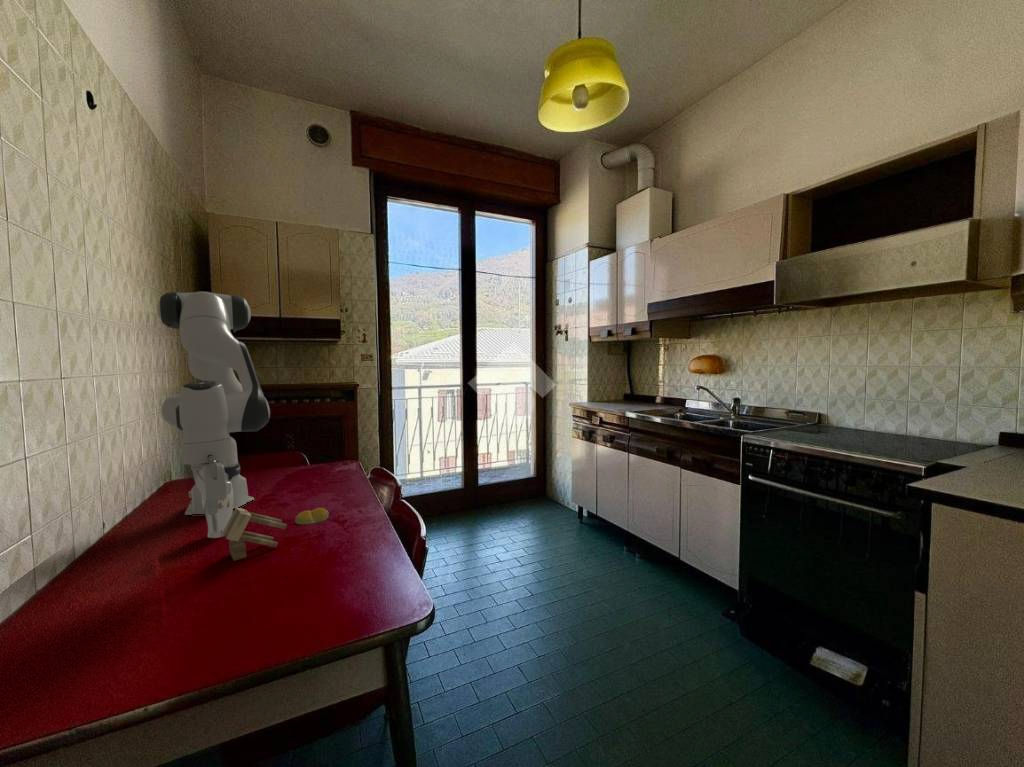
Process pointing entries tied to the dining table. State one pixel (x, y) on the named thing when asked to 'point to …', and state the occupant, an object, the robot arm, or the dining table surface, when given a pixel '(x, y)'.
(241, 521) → the stool
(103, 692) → the dining table surface
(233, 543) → the prop block
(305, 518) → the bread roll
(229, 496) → the beer glass
